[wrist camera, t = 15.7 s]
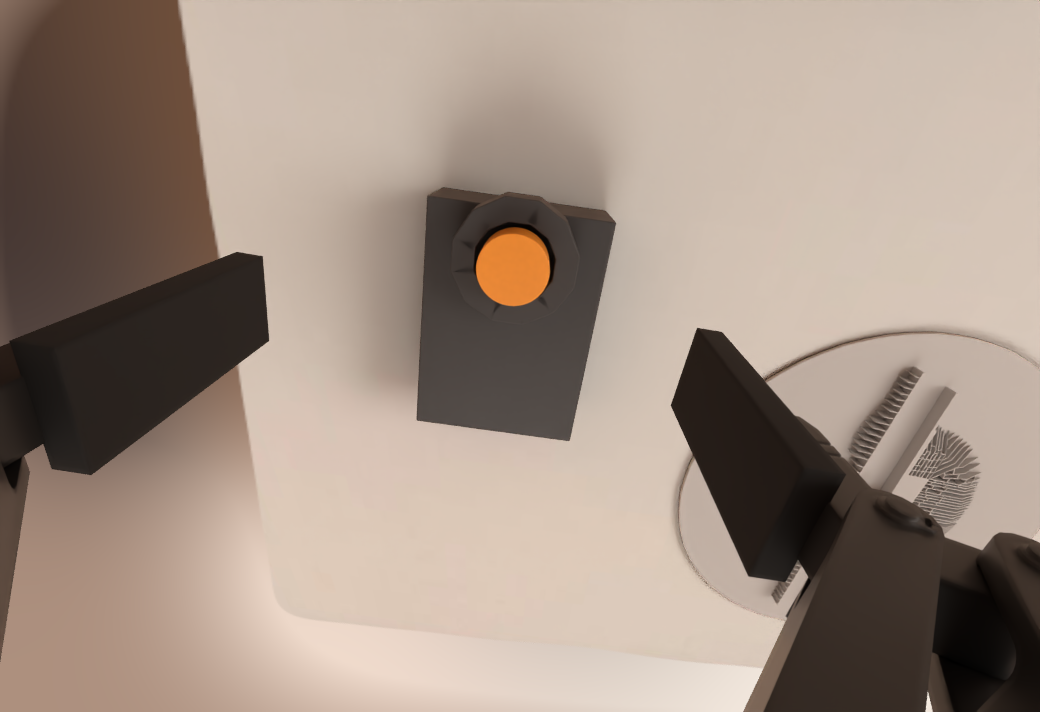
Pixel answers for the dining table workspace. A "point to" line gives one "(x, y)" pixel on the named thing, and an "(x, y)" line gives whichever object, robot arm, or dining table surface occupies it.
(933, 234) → the dining table surface
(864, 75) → the dining table surface
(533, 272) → the button
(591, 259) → the control block
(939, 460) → the plate
